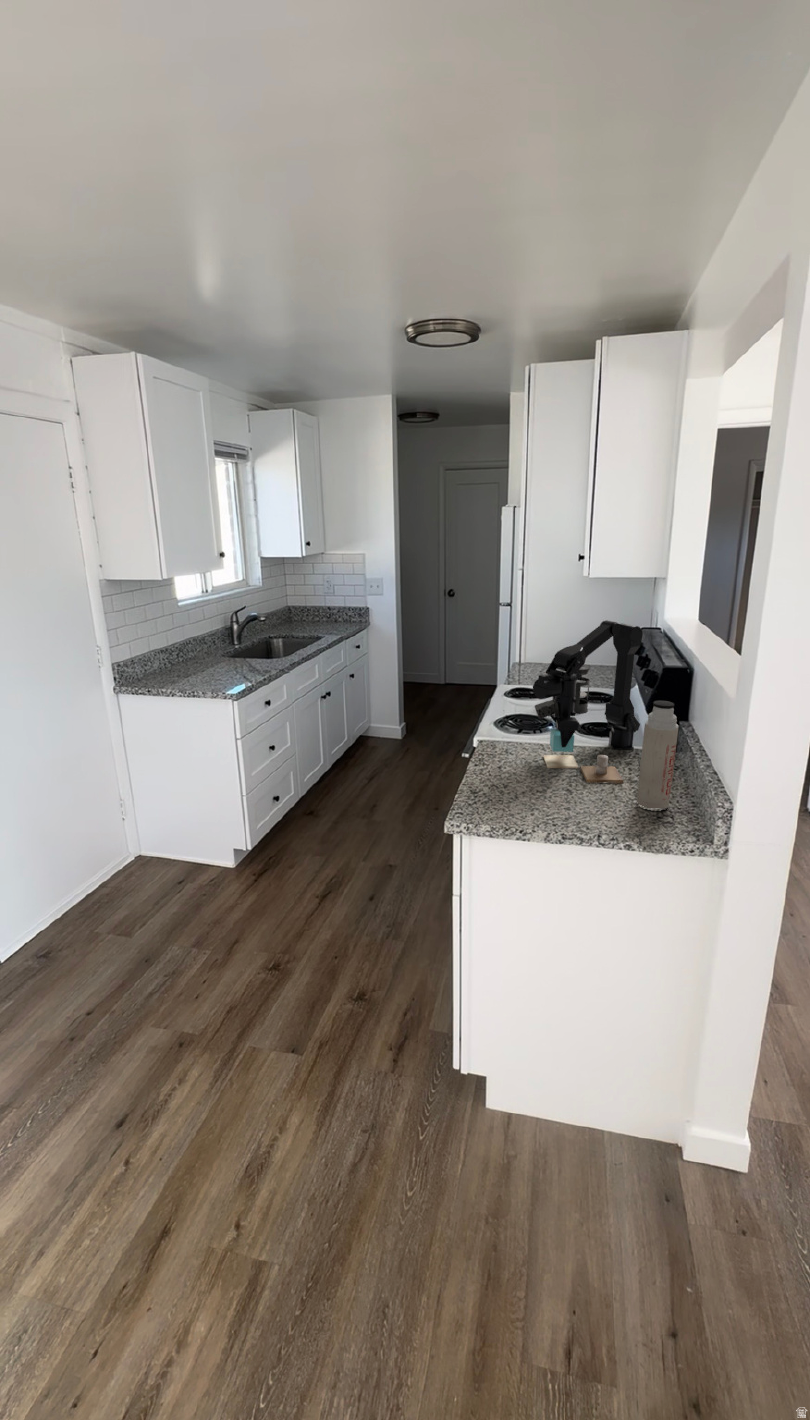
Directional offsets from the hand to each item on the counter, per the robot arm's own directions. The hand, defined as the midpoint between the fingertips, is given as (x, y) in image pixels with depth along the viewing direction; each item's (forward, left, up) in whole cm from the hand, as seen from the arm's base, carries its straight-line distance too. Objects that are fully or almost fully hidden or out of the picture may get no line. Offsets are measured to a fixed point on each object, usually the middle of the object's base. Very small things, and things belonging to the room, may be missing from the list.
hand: (561, 743), depth 201 cm
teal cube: (0, 0, -2) cm, 2 cm away
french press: (-14, -54, -6) cm, 56 cm away
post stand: (-10, +10, -6) cm, 15 cm away
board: (0, 0, -6) cm, 6 cm away
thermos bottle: (-19, +29, -6) cm, 35 cm away
